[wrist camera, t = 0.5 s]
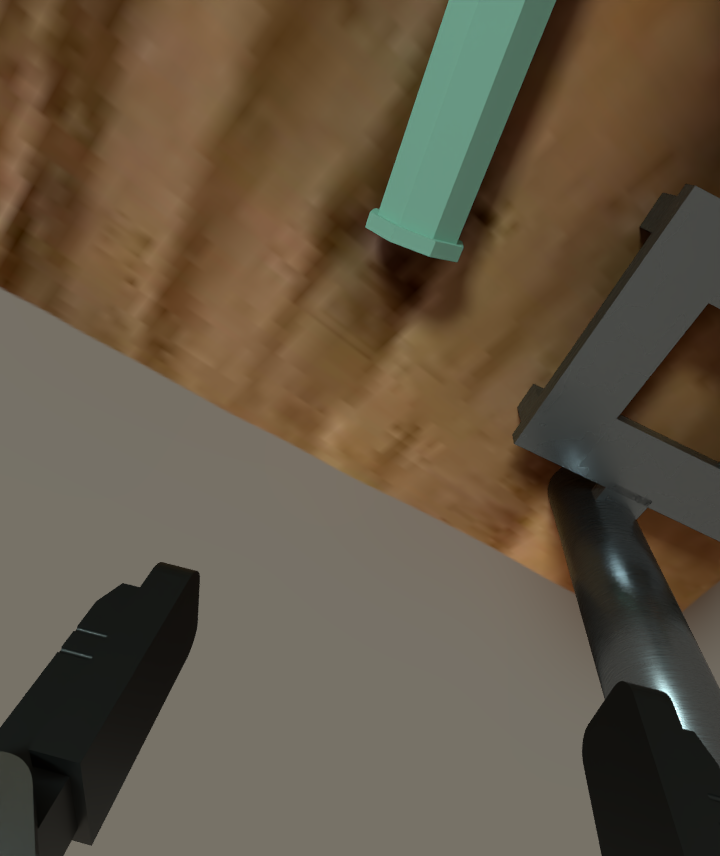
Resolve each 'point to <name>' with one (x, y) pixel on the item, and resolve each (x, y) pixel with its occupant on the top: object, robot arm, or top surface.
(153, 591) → the robot arm
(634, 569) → the square hole stand
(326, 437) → the top surface
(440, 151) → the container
